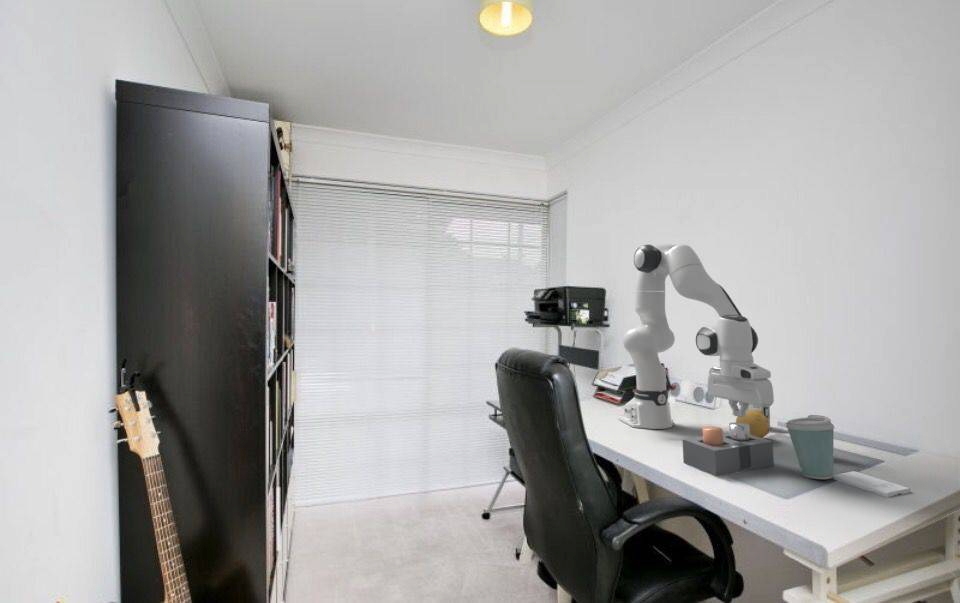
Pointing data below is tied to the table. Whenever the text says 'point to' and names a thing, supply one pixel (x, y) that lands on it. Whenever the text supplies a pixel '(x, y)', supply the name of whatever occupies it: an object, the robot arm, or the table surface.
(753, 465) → the block
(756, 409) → the ink box
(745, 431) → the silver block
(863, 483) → the external hard drive
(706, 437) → the terracotta button
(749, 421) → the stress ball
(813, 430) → the disposable coffee cup
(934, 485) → the table surface
